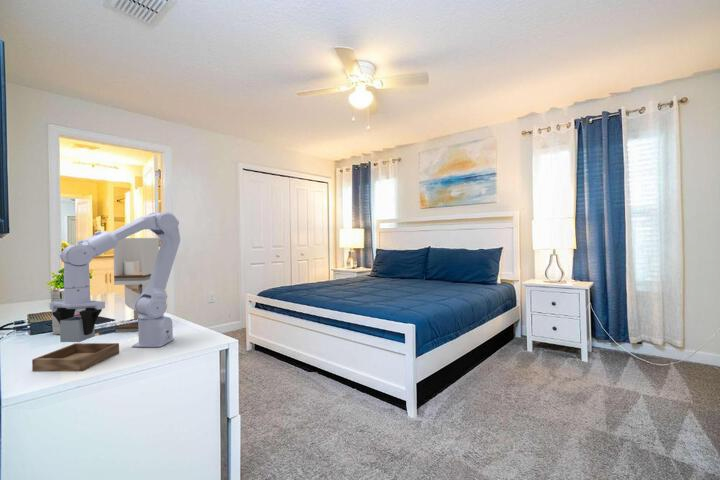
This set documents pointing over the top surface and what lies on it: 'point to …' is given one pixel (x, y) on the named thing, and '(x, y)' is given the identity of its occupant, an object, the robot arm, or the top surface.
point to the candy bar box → (56, 297)
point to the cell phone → (103, 320)
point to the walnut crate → (75, 357)
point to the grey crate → (73, 330)
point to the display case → (134, 271)
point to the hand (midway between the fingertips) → (78, 334)
